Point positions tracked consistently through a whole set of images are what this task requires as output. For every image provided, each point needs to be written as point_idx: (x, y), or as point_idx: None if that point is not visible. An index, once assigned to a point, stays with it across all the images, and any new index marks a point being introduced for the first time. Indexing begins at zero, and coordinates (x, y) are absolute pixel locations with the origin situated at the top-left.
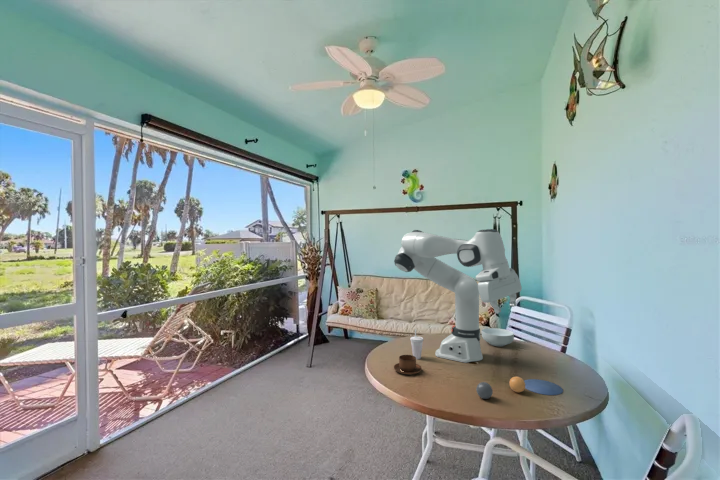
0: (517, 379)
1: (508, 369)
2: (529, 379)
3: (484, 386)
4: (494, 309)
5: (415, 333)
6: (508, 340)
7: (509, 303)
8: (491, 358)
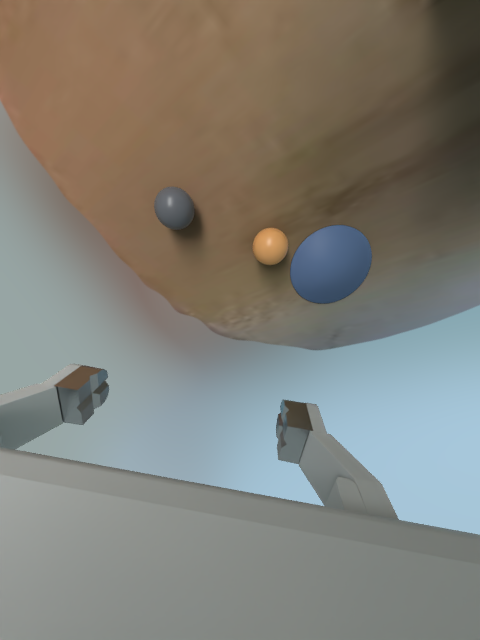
0: (263, 255)
1: (413, 146)
2: (357, 231)
3: (161, 217)
4: (53, 380)
5: None
6: None
7: (285, 416)
8: None
